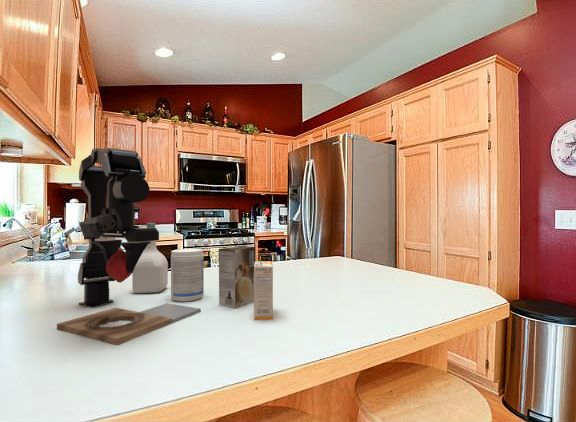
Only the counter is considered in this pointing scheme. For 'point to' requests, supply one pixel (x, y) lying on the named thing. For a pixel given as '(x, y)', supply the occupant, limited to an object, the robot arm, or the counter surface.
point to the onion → (118, 266)
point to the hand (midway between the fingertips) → (120, 271)
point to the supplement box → (263, 290)
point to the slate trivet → (172, 311)
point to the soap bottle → (150, 269)
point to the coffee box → (236, 276)
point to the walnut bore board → (117, 334)
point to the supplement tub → (187, 274)
